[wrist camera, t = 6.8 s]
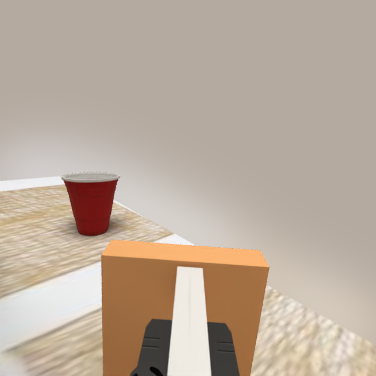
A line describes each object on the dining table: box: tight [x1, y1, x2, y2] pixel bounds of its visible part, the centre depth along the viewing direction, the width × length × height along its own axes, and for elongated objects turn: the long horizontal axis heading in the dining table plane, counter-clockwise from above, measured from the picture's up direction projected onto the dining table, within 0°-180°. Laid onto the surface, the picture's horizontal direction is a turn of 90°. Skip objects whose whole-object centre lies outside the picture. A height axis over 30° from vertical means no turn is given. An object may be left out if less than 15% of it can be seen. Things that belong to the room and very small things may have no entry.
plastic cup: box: [61, 172, 120, 236], centre depth 50 cm, size 11×11×12 cm
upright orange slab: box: [101, 240, 269, 376], centre depth 17 cm, size 2×10×12 cm, turn 90°
